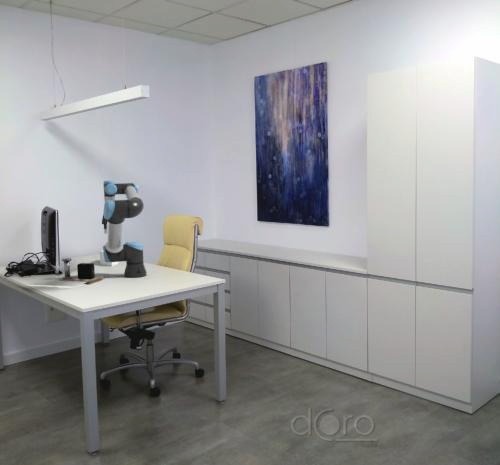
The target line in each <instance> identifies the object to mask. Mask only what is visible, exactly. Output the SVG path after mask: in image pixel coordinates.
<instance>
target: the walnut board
mask: <svg viewBox="0 0 500 465" xmlns="http://www.w3.org/2000/svg"><path fill="white" fill-rule="evenodd" d="M71 276H72V279H63V277H60V278H57V279H56V281H58V282H59V281H60V282H62V281H63V282H81V283H82V284H83V285H93V284H95V283H98V282H101V281H103V280H104V277H99V276H95V278H93V279H91V280H90V279H78V275H71Z"/></svg>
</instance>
